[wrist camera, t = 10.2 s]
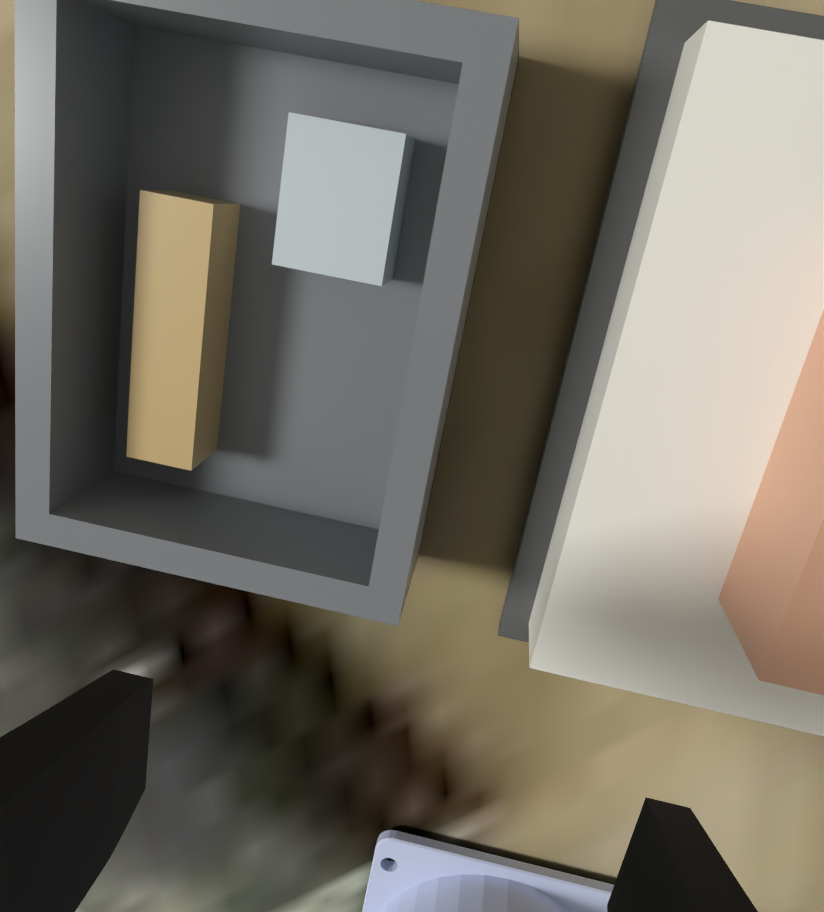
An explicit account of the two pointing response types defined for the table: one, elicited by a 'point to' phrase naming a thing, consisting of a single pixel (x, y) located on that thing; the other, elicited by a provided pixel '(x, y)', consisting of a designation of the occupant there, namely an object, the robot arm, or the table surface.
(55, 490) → the storage box
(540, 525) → the mat
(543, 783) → the table surface
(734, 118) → the lid
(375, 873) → the robot arm
